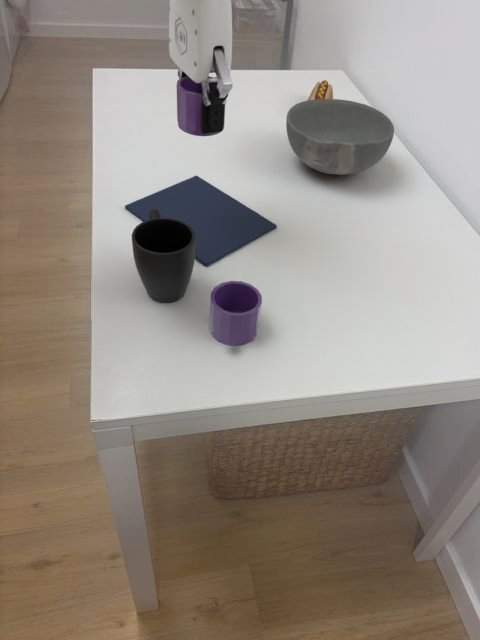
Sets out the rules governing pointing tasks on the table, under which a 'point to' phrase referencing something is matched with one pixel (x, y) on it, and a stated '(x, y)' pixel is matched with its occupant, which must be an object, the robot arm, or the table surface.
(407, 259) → the table surface
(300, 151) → the bowl
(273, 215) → the table surface
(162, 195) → the placemat
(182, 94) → the ramekin
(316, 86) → the food
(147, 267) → the mug
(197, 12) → the robot arm
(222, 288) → the ramekin
